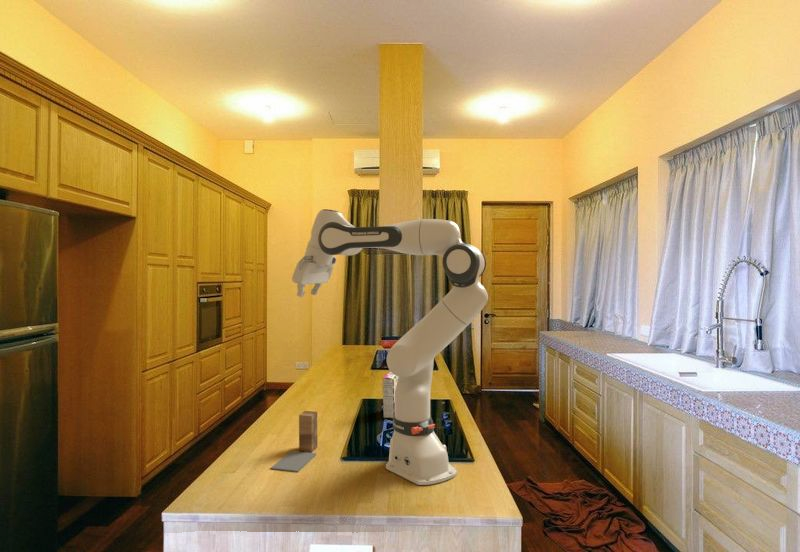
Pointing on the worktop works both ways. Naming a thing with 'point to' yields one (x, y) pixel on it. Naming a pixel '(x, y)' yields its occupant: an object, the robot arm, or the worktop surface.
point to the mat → (293, 461)
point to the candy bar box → (389, 395)
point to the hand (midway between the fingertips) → (306, 295)
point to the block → (308, 431)
